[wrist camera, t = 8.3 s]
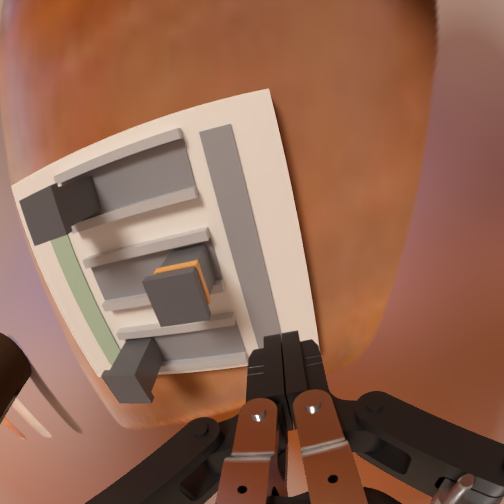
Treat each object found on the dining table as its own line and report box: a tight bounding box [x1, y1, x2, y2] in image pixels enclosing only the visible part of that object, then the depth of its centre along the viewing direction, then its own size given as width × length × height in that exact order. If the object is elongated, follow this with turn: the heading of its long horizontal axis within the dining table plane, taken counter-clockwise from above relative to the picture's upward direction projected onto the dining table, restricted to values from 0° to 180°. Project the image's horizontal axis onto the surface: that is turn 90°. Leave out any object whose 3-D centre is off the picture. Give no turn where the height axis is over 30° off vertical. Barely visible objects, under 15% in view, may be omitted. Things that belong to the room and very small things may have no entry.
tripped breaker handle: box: [142, 244, 216, 327], centre depth 22 cm, size 4×4×6 cm
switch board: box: [11, 89, 320, 403], centre depth 24 cm, size 26×24×8 cm
